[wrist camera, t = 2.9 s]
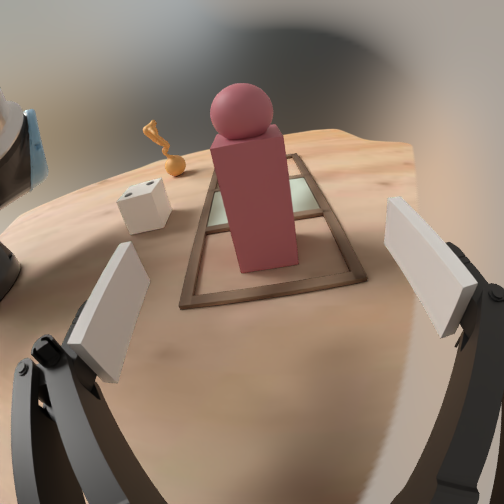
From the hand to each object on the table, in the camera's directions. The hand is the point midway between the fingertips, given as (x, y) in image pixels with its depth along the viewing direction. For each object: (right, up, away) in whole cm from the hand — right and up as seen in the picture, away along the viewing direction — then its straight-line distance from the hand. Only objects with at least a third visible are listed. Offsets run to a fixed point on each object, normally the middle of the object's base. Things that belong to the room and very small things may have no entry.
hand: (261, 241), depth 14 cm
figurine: (-15, +14, +38) cm, 43 cm away
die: (-14, +4, +23) cm, 27 cm away
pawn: (+1, 0, +13) cm, 13 cm away
